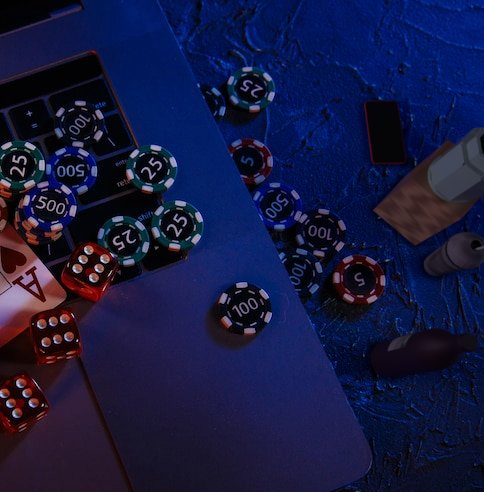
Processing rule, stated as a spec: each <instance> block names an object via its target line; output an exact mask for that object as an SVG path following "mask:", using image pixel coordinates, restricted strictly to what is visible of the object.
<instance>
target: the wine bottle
mask: <svg viewBox="0 0 484 492" xmlns="http://www.w3.org/2000/svg"><path fill="white" fill-rule="evenodd" d="M478 345H479V341H478V338H477V337H476V336H475V335H474V334H472V333H471V332H463V333H459V334H458V335H455V334H454V333H452V332H451V331H449V330H447V329H444V328H437V327H431V328H426V329H423V330H419V331H416V332H412V333H408V334H405V335H402V336H398V337H395V338H391V339H388V340H385V341H381V342H379V343H377V344H376V345H375V346H374V347H373V348H372V350H371V352H370V358H369V359H370V364H371V367H372V368H373V370H374V371H375V372H376V373H377V374H378V375H380V376H382V377H385V378H387V379H388V378H389V379H393V378H402V377H408V376H414V375H420V374H428V373H433V372H440V371H443V370H448V369H449V368H451V367H453V366H454V365H456V364H457V363H458V361H459V360H460V358H461V356H462V353H465V354H466V353H471V352H474V351H475V350H477V348H478Z"/></svg>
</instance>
